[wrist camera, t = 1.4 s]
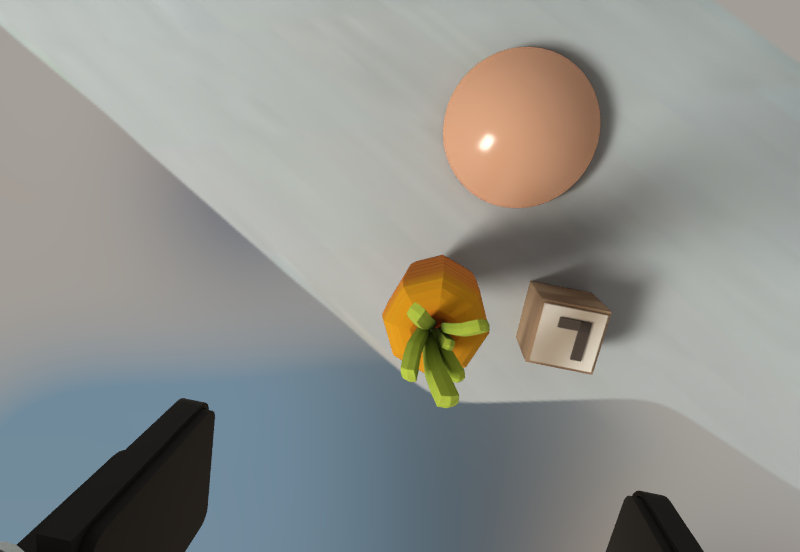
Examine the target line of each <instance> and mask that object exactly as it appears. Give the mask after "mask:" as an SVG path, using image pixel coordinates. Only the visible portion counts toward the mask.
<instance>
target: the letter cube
mask: <svg viewBox="0 0 800 552" xmlns="http://www.w3.org/2000/svg"><path fill="white" fill-rule="evenodd" d="M611 313H612V312H611V311H610V310H609V309H608V308H607V307H606V306H605V305H604V304H603V303H602V302H601V301H600V300H598V299H597V298H596V297H595V296H594V295H593V294H592V293H590V292H585V291H580V290H575V289H570V288H564V287H559V286H554V285H549V284H543V283H538V282H533V281H530V284H529V288H528V292H527V296H526V300H525V304H524V308H523V311H522V315H521V319H520V323H519V327H518V331H517V335H516V338H517V341H518V343H519V346H520V349H521V351H522V354H523V356H524V359H525V361H526V362H531V363H536V364H541V365H546V366H551V367H556V368H561V369H566V370H571V371H576V372H581V373H586V374H593V371H594V368H595V364H596V361H597V358H598V355H599V352H600V348H601V345H602V342H603V339H604V335H605V332H606V329H607V326H608V322H609V319H610V316H611Z"/></svg>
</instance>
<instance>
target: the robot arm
mask: <svg viewBox="0 0 800 552" xmlns="http://www.w3.org/2000/svg"><path fill="white" fill-rule="evenodd" d="M214 420H215V414H214V412H213V411H210V410H209V407H208V404H207V403H204V402H199V401H194V400H189V399H185V398H182V399H180V400H178V401H177V402H176V403H175V404H174V405H173V406H172V407H171V408H170V409H168V410H167V411H166V412H165V413H164V414H163V415H162V416H161V417H160V418H159V419H158V420H157V421H156V422H155V423H153V424H152V425H151V426H150V427H149V428H148V429H147V430H146V431H145V432H144V433H143V434H142V435H141V436H140V437H138V439H136V440H135V441H134V442H133V443H132V444H131V445H130V446H129V447H128V448H127V449H126V450H123V451H119V452H118V453H117V454H115V455H114V456H113V457H111V458H110V459H109V460H108V461H107V462H106V463H105V464H104V465H103V466H102V467H101V468H100V469H98V470H97V471H96V472H95V473H94V474H93V475H92V476H91V477H90V478H89V479H88V480H87V481H85V482H84V483H83V484H82V485H81V486H80V487H79V488H78V489H77V490H76V491H75V492H73V493H72V494H71V495H70V496H69V497H68V498H67V499H66V500H65V501H64V502H63V503H62V504H61V505H59V506H58V507H57V508H56V509H55V510H54V511H53V512H52V513H51V514H50V515H48V516H47V517H46V518H45V519H44V520H43V521H42V522H41V523H40V524H39V525H38V526H37V527H35V528H34V529H33V530H32V531H31V532H30V533H29V534H28V535H27V536H26V537H25V538H23V540H21V541H20V542H19V543H18V544H17V545H14V544H11V543H8V542H0V552H185V551H186V549H187V548H188V546H189V545H190V543H191V541H192V540H193V538H194V537H195V535H196V534H197V532H198V530H199V529H200V527H201V526H202V523H203V522H204V518H205V516H206V513H207V507H208V495H209V483H210V471H211V470H210V469H211V458H212V446H213V433H214ZM606 552H703V550H702V549H701V547H700V545H699V544H698V542H697V541H696V539H695V538H694V536H693V535H692V533H691V532H690V530H689V529H688V527H687V526H686V524H685V523H684V521H683V520H682V518H681V517H680V516H679V514H678V512H677V511H676V509H675V508H674V506H673V505H672V503H671V502H670V501H669V499H668V498H667V497H665V496H663V495H658V494H653V493H648V492H643V491H636V492H635V493H634V494H633V496H627V497H626V498H625V500H624V502H623V505H622V508H621V511H620V513H619V516H618V519H617V522H616V524H615V528H614V530H613V533H612V536H611V539H610V541H609V544H608V547H607V550H606Z"/></svg>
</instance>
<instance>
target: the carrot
mask: <svg viewBox="0 0 800 552" xmlns="http://www.w3.org/2000/svg"><path fill="white" fill-rule="evenodd" d="M382 317H383V321H384V324H385V327H386V331H387V334H388V338H389V341H390V345H391V348H392V352H393V354H394V356H396V357H397V358H399V359H401V360H402V364H401V374H402V377H403V378H404V379H405V380H407V381H409V382H416V380H417V375H418V370H420V371H422V372H423V373H425V377H426V379H427V382H428V385H429V388H430V391H431V394H432V396H433V398H434V400H435V402H436V404H437V406H438V407H443V408H449V407H452V406H455V405H456V404H457V403H458V402H459V394H458V392H457V390H456V388H455V385H454V383H453V382H456V383H458V382H461V381H463V379H464V378H465V372H464V369H463V368H464V367H466V366H467V365H468V363H469V362H470V360H471V359H472V357H473V356H474V354H475V353H476V352H477V350H478V349H479V347H480V346H481V344H482V343H483V341H484V340H485V338H486V337H487V335H488V334H489V323H488V321H487V319H486V315H485V310H484V306H483V302H482V298H481V294H480V290H479V287H478V284H477V281H476V279H475V277H474V275H473V273H472V272H470V271H469V270H468V269H466V268H464V267H463V266H461V265H459V264H458V263H456V262H454V261H453V260H451V259H449V258H447V257H446V256H444V255H440V256H436V257H432V258H428V259H423V260H419V261H416V262H414V263H412V264H411V265H410V267H409V268H408V270H407V272H406V273H405V275H404V277H403V278H402V280H401V282H400V283H399V285H398V286H397V288H396V290H395V291H394V293H393V295H392V296H391V298H390V300H389V301H388V303H387V305H386V308H385V310H384V312H383V314H382Z"/></svg>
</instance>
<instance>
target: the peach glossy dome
mask: <svg viewBox="0 0 800 552" xmlns="http://www.w3.org/2000/svg"><path fill="white" fill-rule="evenodd" d="M600 124H601V122H600V110H599V104H598V100H597V97H596V94H595V92H594V89H593V87H592V85H591V83H590V82H589V80H588V79H587V77H586V76H585V74H584V73H583V72H582V71H581V70H580V69H579V68H578V67H577V66H576V65H575V64H574V63H572V62H571V61H570V60H569V59H567V58H565V57H563V56H562V55H560V54H558V53H555V52H553V51H550V50H546V49H542V48H536V47H517V48H512V49H507V50H504V51H501V52H498V53H496V54H494V55H492V56H489V57H487V58H486V59H484V60H483V61H481V62H480V63H478V64H477V65H476V66H475V67H474V68H472V69H471V70H470V71H469V72H468V73H467V74H466V75H465V77H464V78H463V79H462V80H461V82H460V83H459V84H458V86H457V87H456V89H455V91H454V93H453V94H452V96H451V99H450V101H449V104H448V106H447V110H446V114H445V118H444V126H443V140H444V147H445V152H446V155H447V159H448V161H449V164H450V166H451V168H452V170H453V172H454V173H455V175H456V177H457V178H458V179H459V181H460V182H461V183H462V184H463V185H464V186H465V187H466V188H467V189H468V190H469V191H470V192H471V193H473V194H474V195H475V196H477V197H479V198H480V199H482V200H484V201H486V202H489V203H491V204H494V205H498V206H502V207H508V208H525V207H532V206H536V205H540V204H543V203H545V202H548V201H550V200H552V199H554V198H556V197H558V196H559V195H561V194H562V193H564V192H565V191H566V190H568V189H569V188H570V187H571V186H572V185H573V184H574V183H576V182H577V180H578V179H579V178H580V177H581V176H582V174H583V173H584V172H585V170H586V169H587V167H588V166H589V164H590V162H591V160H592V158H593V156H594V153H595V150H596V147H597V145H598V140H599V135H600Z"/></svg>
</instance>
